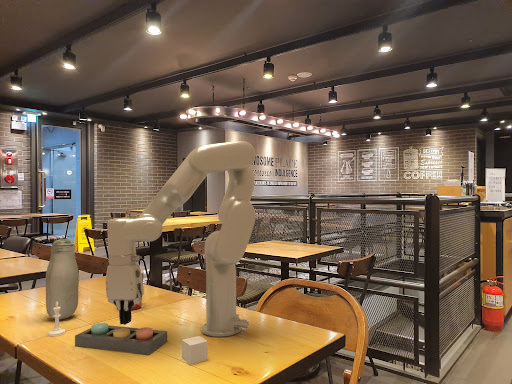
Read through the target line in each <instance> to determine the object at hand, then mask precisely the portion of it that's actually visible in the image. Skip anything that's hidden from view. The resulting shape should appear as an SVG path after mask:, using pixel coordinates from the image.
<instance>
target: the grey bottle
mask: <svg viewBox="0 0 512 384" xmlns="http://www.w3.org/2000/svg"><path fill="white" fill-rule="evenodd" d="M75 248H76V246H75V243H74V242H73V241H72V240H71V239H69V238H63V239H62V238H60V239H57V240H55V241H54V242H53V243H52V245H51V247H50V251H51V252H50V253H51V254H50V258H49V262H48V265H47V267H46V272H45V308H46V313H47V315H48V316H49V317H50V318H51V319H53V320H55V317H53V315H55V312H54V310H53V308H55V307H56V301H58V307H60V311H59V314H60V315H61V316H59V321H60V320H65V319H68V318H71V316H73V315H74V314H75V312H76V311H77V309H78V306H79V283H80V273H79V272H80V271H79V267H78V264H77V259H76V253H75V251H76V250H75Z"/></svg>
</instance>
